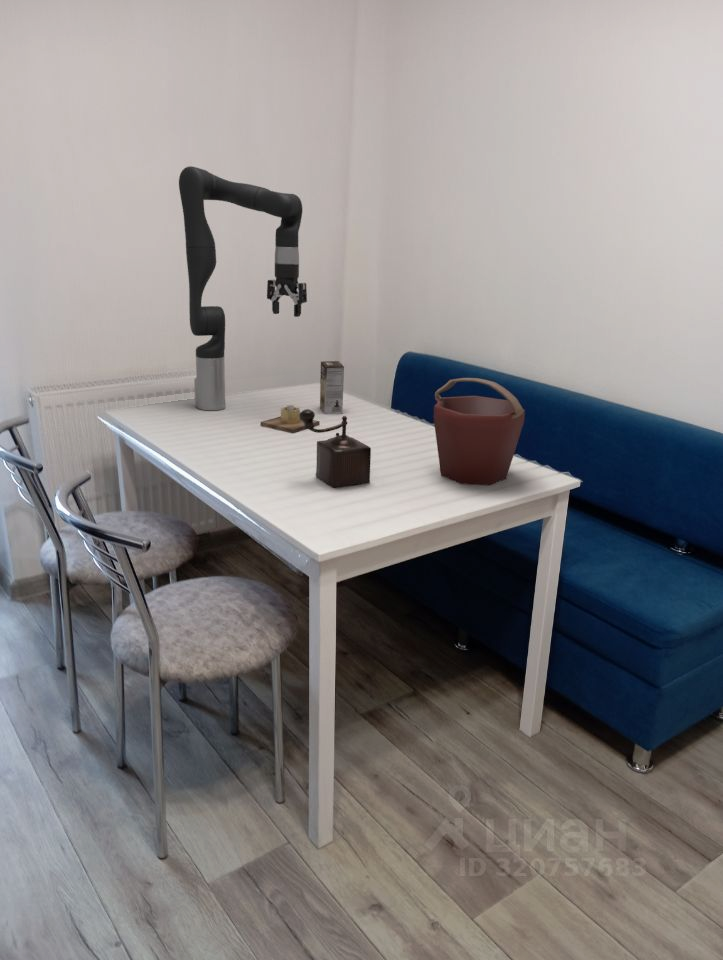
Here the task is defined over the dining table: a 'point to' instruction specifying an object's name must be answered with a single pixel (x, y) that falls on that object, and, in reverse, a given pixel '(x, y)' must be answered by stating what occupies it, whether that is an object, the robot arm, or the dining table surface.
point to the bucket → (477, 434)
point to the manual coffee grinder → (339, 456)
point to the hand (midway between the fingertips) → (286, 315)
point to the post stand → (291, 428)
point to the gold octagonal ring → (290, 415)
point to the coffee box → (331, 387)
